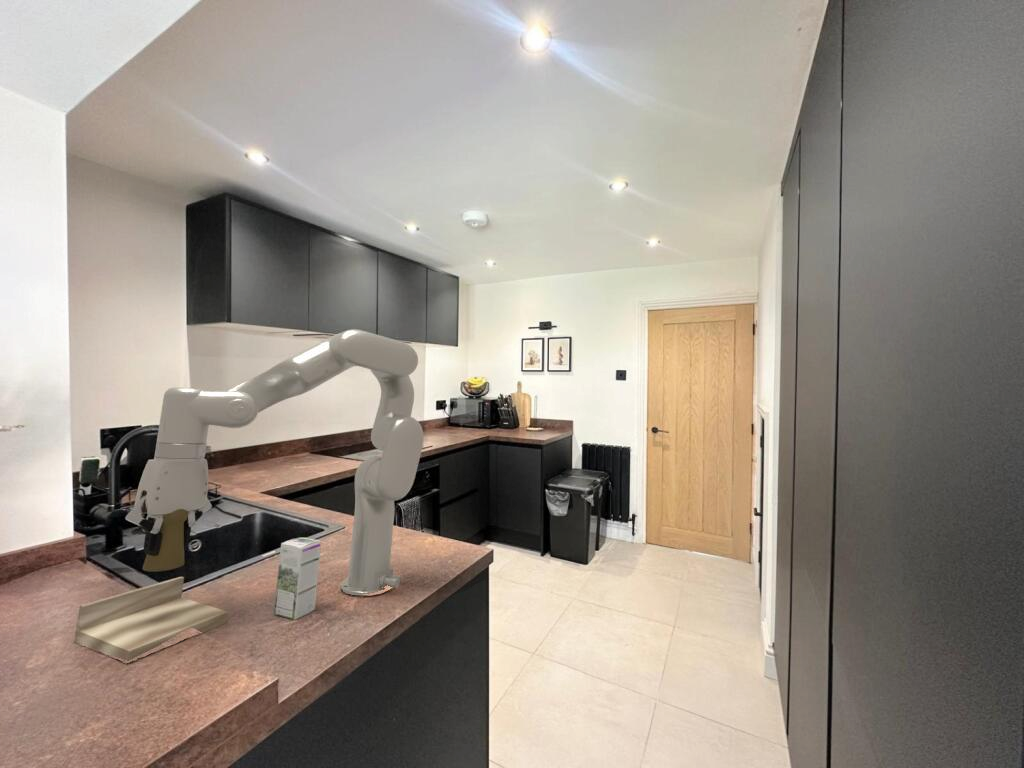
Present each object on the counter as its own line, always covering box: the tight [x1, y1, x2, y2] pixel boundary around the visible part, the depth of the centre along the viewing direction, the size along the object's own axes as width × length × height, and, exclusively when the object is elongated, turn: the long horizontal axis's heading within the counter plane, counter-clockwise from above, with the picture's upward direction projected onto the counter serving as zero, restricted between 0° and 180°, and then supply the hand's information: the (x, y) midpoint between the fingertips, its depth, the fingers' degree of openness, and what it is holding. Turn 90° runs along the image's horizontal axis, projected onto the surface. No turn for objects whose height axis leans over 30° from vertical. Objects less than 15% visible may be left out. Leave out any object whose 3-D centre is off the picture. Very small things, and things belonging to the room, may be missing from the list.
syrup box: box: [273, 536, 322, 621], centre depth 87 cm, size 6×6×14 cm
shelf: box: [73, 576, 229, 661], centre depth 76 cm, size 15×16×6 cm
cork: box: [141, 509, 189, 572], centre depth 78 cm, size 6×6×11 cm
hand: (166, 550), depth 77 cm, fingers closed on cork, 4 cm apart
